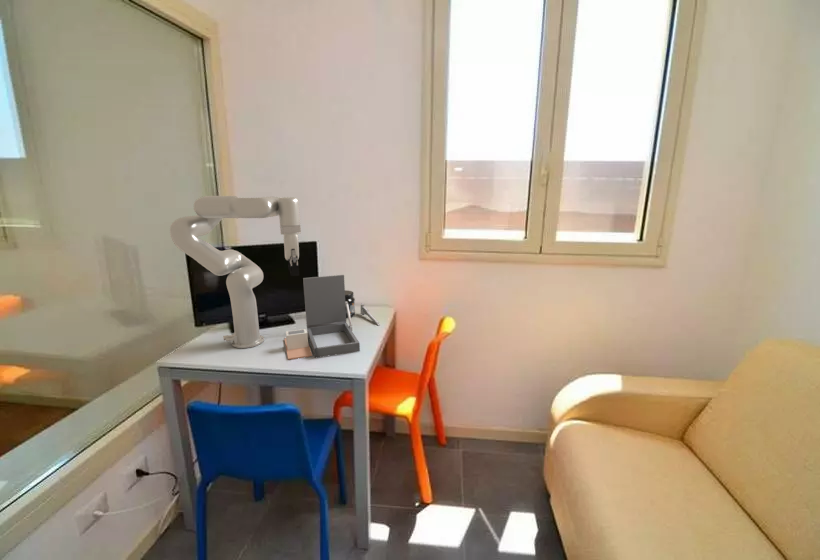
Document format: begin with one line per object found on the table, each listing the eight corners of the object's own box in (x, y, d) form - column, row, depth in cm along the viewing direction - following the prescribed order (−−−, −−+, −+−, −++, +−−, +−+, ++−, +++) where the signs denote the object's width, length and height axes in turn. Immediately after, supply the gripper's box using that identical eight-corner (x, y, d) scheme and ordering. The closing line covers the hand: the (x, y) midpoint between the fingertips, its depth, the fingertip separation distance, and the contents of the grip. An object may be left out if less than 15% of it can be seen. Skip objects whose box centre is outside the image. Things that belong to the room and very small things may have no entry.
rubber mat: (288, 360, 151) (288, 358, 151) (284, 339, 171) (284, 338, 171) (312, 356, 154) (312, 354, 154) (306, 336, 174) (306, 335, 174)
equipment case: (315, 357, 153) (310, 293, 147) (307, 334, 177) (303, 278, 171) (362, 350, 159) (360, 288, 153) (348, 328, 183) (346, 274, 177)
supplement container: (329, 316, 201) (328, 293, 198) (345, 311, 209) (344, 288, 206) (343, 320, 194) (342, 296, 191) (359, 315, 202) (358, 292, 199)
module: (287, 349, 159) (286, 335, 157) (286, 345, 163) (285, 331, 162) (308, 346, 161) (307, 332, 160) (306, 342, 166) (305, 328, 165)
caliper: (360, 314, 204) (360, 302, 202) (362, 314, 204) (362, 302, 203) (378, 326, 187) (377, 313, 185) (380, 325, 187) (379, 313, 186)
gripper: (279, 228, 161) (282, 269, 165) (281, 232, 145) (285, 278, 149) (298, 227, 164) (301, 268, 168) (302, 231, 148) (306, 276, 152)
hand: (294, 273), depth 158 cm, fingers open, 9 cm apart
